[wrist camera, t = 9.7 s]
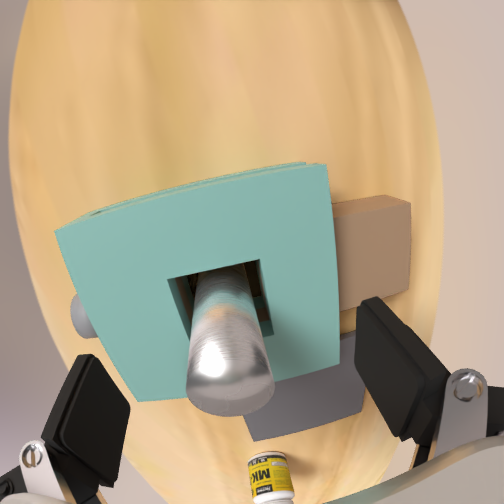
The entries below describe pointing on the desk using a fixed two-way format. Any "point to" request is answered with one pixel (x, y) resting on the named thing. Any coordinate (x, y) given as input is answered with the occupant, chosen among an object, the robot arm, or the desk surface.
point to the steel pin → (227, 347)
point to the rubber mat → (311, 398)
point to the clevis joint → (229, 253)
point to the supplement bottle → (270, 479)
